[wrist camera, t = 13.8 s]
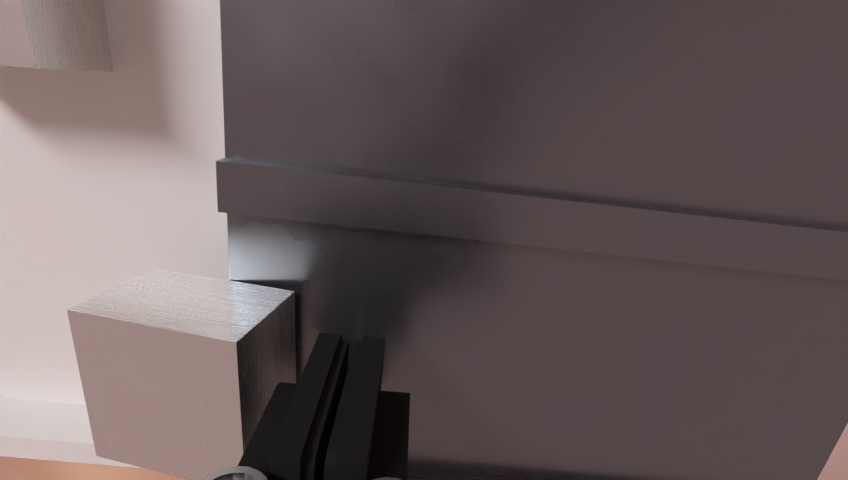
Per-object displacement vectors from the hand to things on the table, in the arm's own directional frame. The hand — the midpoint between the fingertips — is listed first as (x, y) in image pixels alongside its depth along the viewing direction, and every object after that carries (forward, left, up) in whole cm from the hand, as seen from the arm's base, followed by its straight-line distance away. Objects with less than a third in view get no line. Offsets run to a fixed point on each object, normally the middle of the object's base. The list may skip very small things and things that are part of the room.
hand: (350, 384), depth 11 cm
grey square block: (+3, 0, -1) cm, 4 cm away
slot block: (-6, -5, -4) cm, 8 cm away
